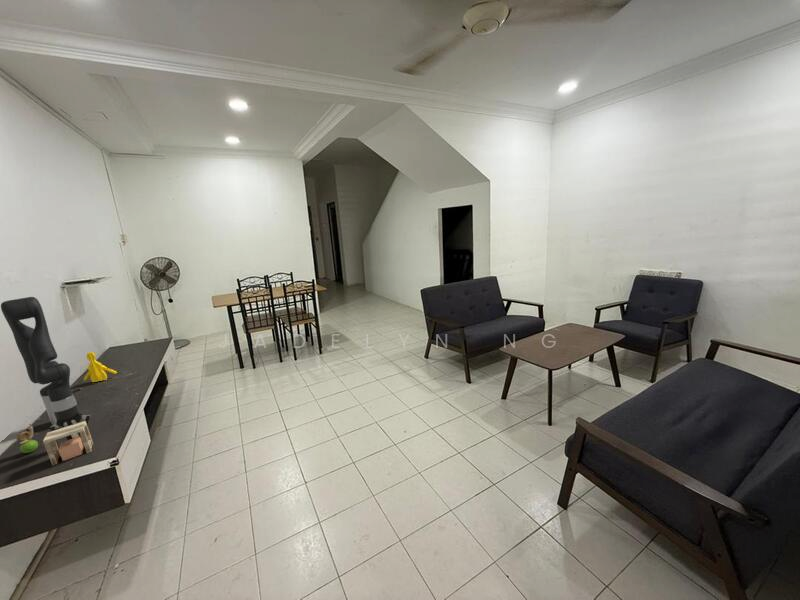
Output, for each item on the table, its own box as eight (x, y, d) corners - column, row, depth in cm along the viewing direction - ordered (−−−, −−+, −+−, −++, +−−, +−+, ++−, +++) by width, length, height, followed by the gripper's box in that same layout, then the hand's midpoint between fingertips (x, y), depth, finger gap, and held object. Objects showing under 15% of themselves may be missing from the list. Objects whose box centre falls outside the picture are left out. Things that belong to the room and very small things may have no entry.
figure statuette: (119, 375, 221) (110, 346, 216) (115, 379, 214) (106, 349, 209) (86, 382, 213) (76, 352, 208) (81, 387, 206) (70, 356, 201)
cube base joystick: (69, 443, 146) (64, 429, 145) (87, 437, 150) (82, 424, 148) (62, 461, 135) (57, 446, 133) (82, 454, 138) (76, 439, 136)
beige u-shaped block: (56, 456, 138) (47, 432, 135) (93, 443, 145) (85, 420, 142) (52, 465, 132) (42, 441, 130) (91, 451, 139) (82, 428, 137)
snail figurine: (45, 445, 147) (36, 423, 144) (30, 455, 140) (21, 432, 138) (34, 446, 147) (25, 424, 144) (18, 456, 140) (8, 433, 138)
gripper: (87, 397, 150) (98, 429, 154) (44, 409, 142) (57, 442, 146) (84, 403, 144) (96, 436, 148) (40, 416, 136) (53, 450, 140)
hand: (76, 439), depth 147 cm, fingers closed on cube base joystick, 3 cm apart
